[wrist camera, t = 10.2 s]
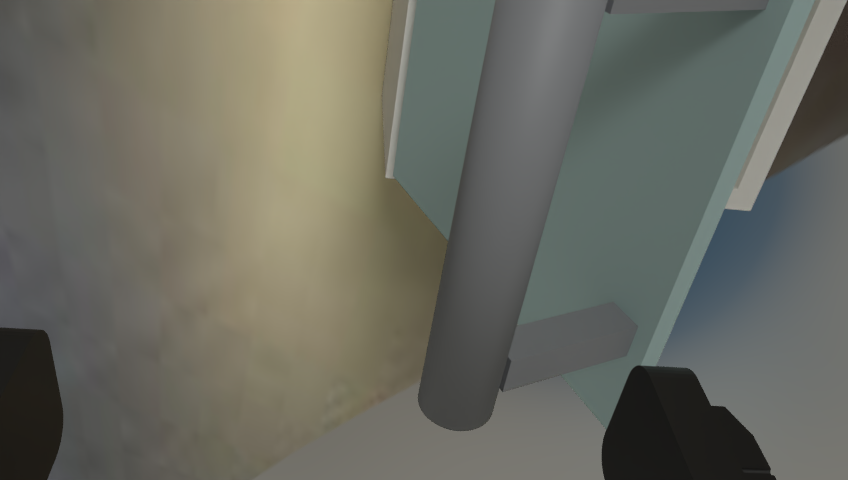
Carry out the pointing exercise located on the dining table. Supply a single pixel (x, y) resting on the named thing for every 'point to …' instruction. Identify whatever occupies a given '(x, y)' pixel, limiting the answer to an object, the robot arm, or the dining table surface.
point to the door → (575, 178)
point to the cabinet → (766, 140)
